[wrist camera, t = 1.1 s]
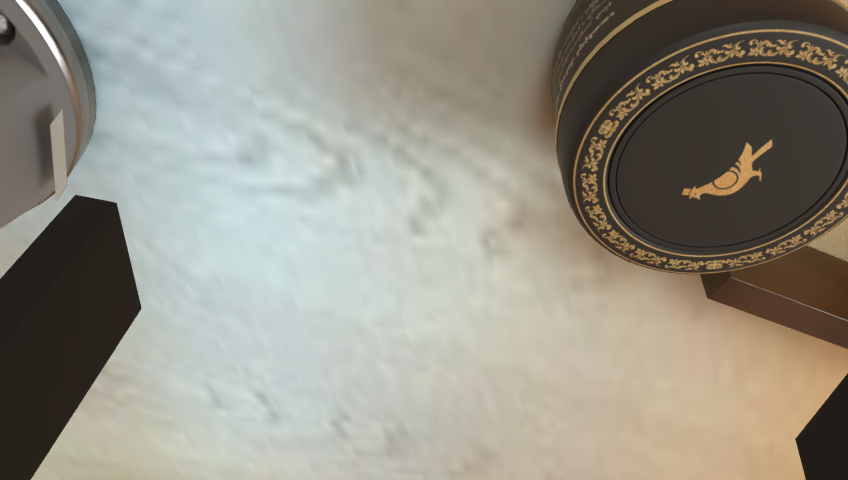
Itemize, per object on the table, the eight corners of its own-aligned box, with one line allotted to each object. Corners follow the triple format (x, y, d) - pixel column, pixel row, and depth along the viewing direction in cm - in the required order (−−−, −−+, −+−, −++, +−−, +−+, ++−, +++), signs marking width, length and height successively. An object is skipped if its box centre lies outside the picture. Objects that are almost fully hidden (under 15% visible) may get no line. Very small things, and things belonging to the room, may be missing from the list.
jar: (883, -39, 25) (1000, 77, 19) (720, 176, 31) (772, 308, 26) (617, -131, 23) (662, -34, 18) (507, 116, 30) (513, 243, 24)
